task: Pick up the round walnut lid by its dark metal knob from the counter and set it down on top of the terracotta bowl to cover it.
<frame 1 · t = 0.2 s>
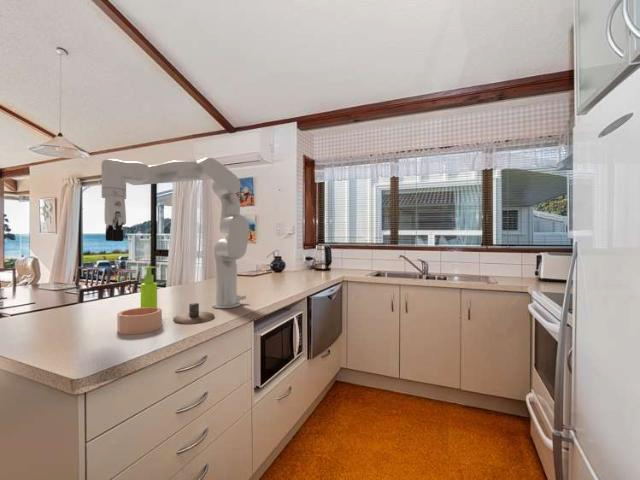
hand: (114, 240, 112), 31 cm above the countertop, tool pointing down, fingers open, 9 cm apart
terracotta bowl: (140, 328, 108), on the countertop
soap dispenser: (149, 315, 127), on the countertop
walnut lid: (194, 319, 121), on the countertop
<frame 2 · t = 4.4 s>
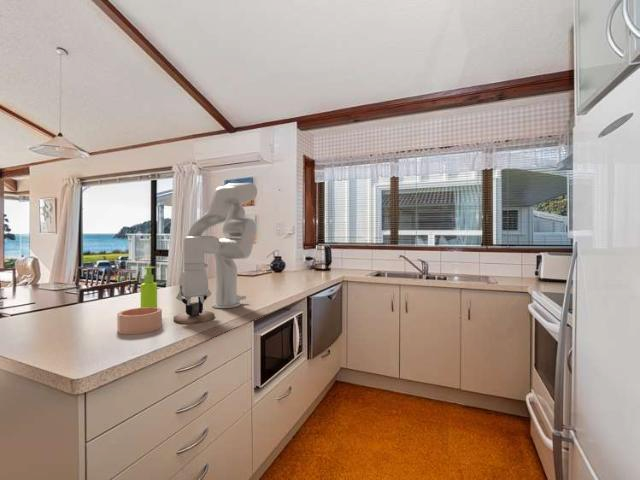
hand: (194, 313, 121), 2 cm above the countertop, tool pointing down, fingers closed on walnut lid, 3 cm apart
walnut lid: (194, 318, 121), on the countertop, touching gripper
everything else where it was.
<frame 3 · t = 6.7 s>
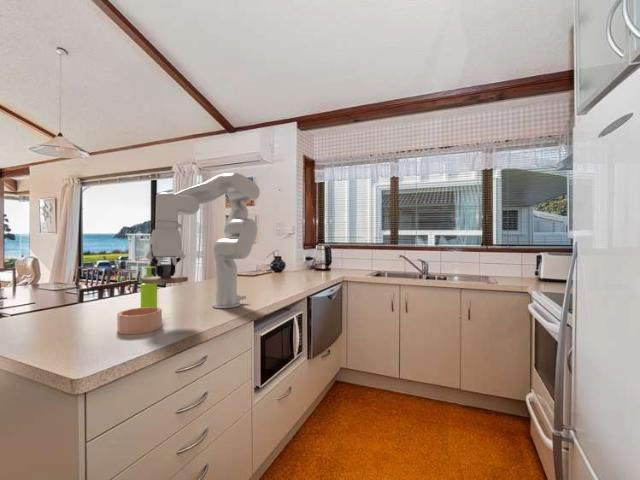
hand: (165, 275, 114), 18 cm above the countertop, tool pointing down, fingers closed on walnut lid, 3 cm apart
walnut lid: (165, 281, 114), point 16 cm above the countertop, touching gripper
everything else where it was.
when the fingers open (10 cm above the countertop, at t = 9.3 s): walnut lid drops 2 cm, resting on terracotta bowl.
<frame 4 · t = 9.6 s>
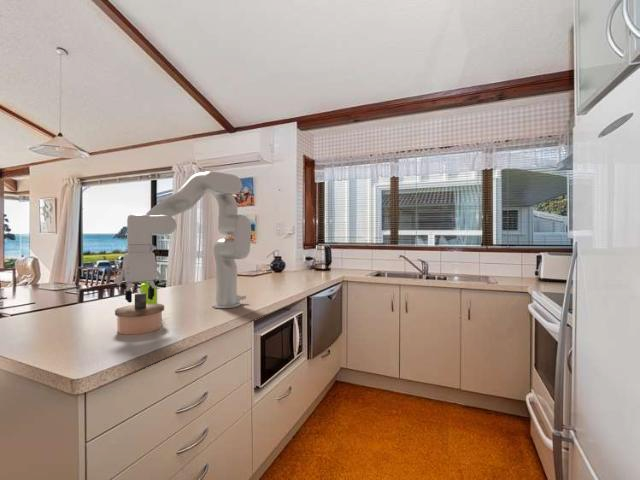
hand: (140, 300, 108), 10 cm above the countertop, tool pointing down, fingers open, 6 cm apart
walnut lid: (140, 311, 108), point 6 cm above the countertop, touching terracotta bowl
everything else where it was.
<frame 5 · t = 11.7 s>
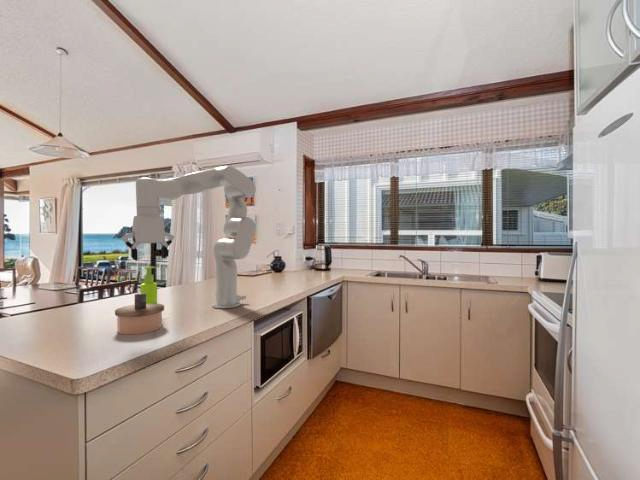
hand: (149, 258, 113), 24 cm above the countertop, tool pointing down, fingers open, 9 cm apart
nothing on the countertop moved.
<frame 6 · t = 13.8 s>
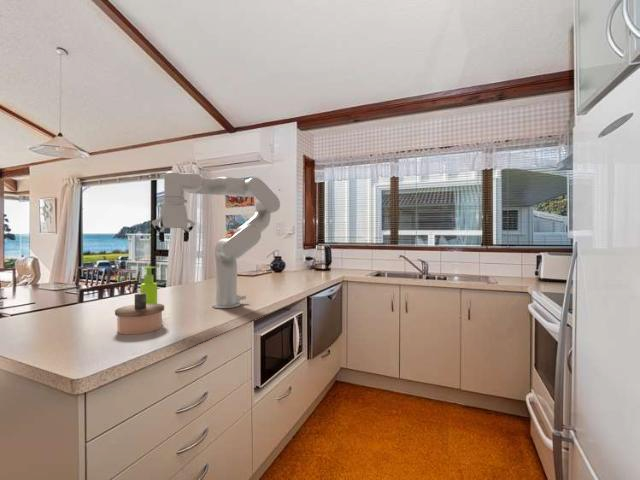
hand: (174, 241, 131), 30 cm above the countertop, tool pointing down, fingers open, 9 cm apart
nothing on the countertop moved.
at the end: walnut lid 0.1 cm off-centre on the terracotta bowl, point 6.0 cm above the terracotta bowl's base; walnut lid tilted 0°; the gripper is holding nothing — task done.
